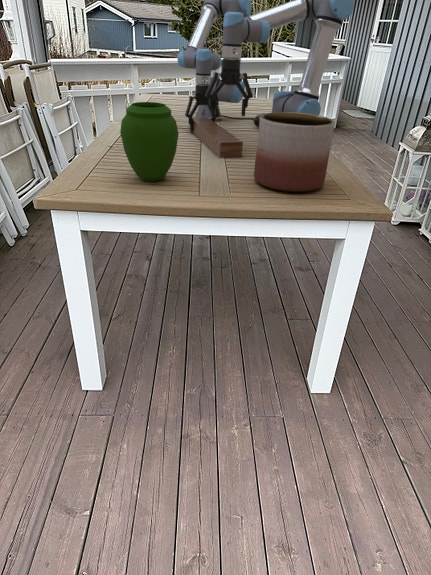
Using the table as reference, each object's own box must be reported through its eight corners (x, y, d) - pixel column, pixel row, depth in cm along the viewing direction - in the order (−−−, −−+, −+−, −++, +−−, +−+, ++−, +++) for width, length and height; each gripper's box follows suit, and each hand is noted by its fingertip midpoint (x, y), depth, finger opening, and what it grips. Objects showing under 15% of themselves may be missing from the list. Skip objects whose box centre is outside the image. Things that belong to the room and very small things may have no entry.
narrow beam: (189, 129, 221) (189, 117, 217) (207, 129, 223) (207, 117, 220) (219, 157, 175) (220, 142, 171) (241, 157, 177) (242, 141, 174)
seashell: (267, 127, 236) (269, 112, 232) (270, 129, 231) (271, 114, 227) (251, 126, 235) (253, 111, 230) (253, 128, 230) (255, 113, 226)
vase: (131, 189, 135) (125, 110, 122) (118, 172, 150) (112, 100, 137) (186, 184, 142) (187, 109, 129) (169, 168, 157) (167, 99, 144)
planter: (334, 194, 140) (348, 126, 129) (263, 195, 136) (271, 125, 125) (308, 172, 162) (318, 112, 150) (246, 172, 157) (251, 111, 146)
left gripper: (182, 85, 198) (182, 133, 210) (227, 86, 204) (224, 132, 216) (178, 83, 204) (179, 129, 216) (222, 84, 210) (220, 129, 222)
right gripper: (203, 58, 156) (201, 117, 167) (263, 60, 163) (258, 117, 174) (198, 57, 162) (197, 114, 173) (257, 59, 169) (252, 114, 180)
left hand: (201, 131), depth 216 cm, fingers open, 10 cm apart
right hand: (228, 116), depth 174 cm, fingers open, 13 cm apart
